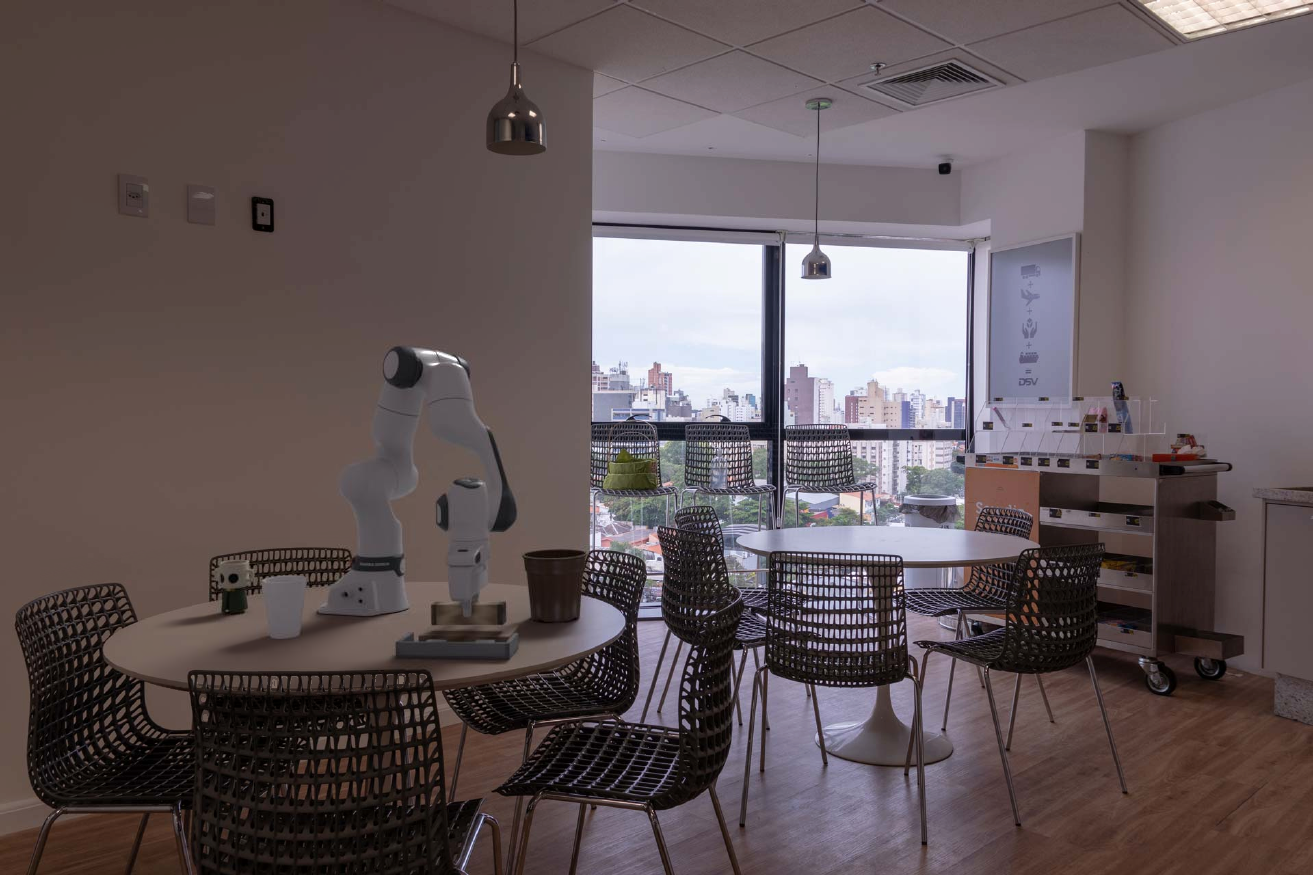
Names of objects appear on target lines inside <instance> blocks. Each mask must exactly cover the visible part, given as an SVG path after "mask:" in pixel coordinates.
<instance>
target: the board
mask: <svg viewBox="0 0 1313 875" xmlns="http://www.w3.org/2000/svg"><path fill="white" fill-rule="evenodd" d="M519 628H520V627H519V625H431V626H429V627H428V628H426V629H425V630H424V631H422V632H421V633H420V634H419V635H418V641H425V642H426V641H427V640H428V639H439V640H447V642H475V641H476V640H495V642H507V640H508V639H509V638H510V637H511V636H512V635H513V634H514V633H518V638H520V634H519V632H520V630H519Z"/></svg>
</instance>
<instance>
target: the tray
mask: <svg viewBox="0 0 1313 875" xmlns="http://www.w3.org/2000/svg"><path fill="white" fill-rule="evenodd" d="M517 649H518V650H519V637H518V633H514V634H513V635H512V636H511V637H510V638H509V639H508V640H507V642H425V641H419V640H417V641H416V640H415V632H414V631H409V632H407V633H406V634H404V636H402V637H401V638H399V639H398V640H397V641H395V658H396V659H429V660H431V659H440V660H441V659H443V660H445V659H447V660H448V659H449V660H508V661H509V660H511V659H512V657H513V656H514V655H515V654H516V652H517V651H518V650H517Z"/></svg>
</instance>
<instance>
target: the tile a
mask: <svg viewBox="0 0 1313 875" xmlns="http://www.w3.org/2000/svg"><path fill="white" fill-rule="evenodd" d="M426 642H447V640H439V639H428V640H427V641H426Z"/></svg>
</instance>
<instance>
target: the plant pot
mask: <svg viewBox="0 0 1313 875" xmlns="http://www.w3.org/2000/svg"><path fill="white" fill-rule="evenodd" d="M587 556H588V552H587V551H586V550H581V549H572V548H571V549H569V548H567V549H566V548H553V549H541V550H540V549H538V550H530V551H526V552H524V553H522V554H521V558H523V562H524V563H523V564H524V571H525V572H526V579H527V589H528V596H529V607H530V608H529V610H530V618H531V619H532V620H533V621H537V622H539V621H543V622H544V623H563V622H569V621H573V620H574V619H579V618H580V616H581V604H582V603H581V602H582V591H583V590H582V589H583V578H584V570H585V568H586V558H587Z"/></svg>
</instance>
